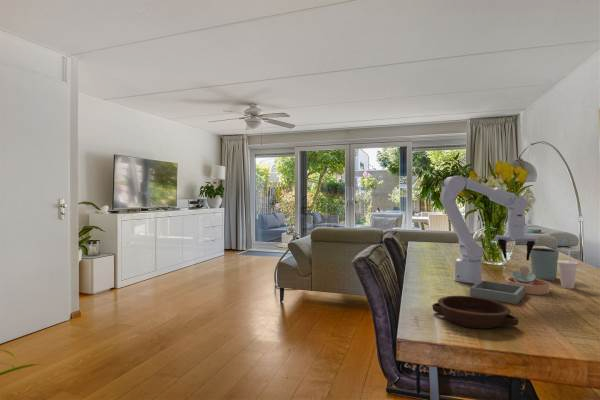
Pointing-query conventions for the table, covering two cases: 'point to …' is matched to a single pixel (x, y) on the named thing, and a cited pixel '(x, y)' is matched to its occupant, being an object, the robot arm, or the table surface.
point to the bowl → (531, 286)
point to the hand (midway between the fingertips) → (516, 259)
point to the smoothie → (567, 272)
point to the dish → (474, 312)
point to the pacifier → (524, 276)
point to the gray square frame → (498, 291)
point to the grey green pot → (544, 263)
